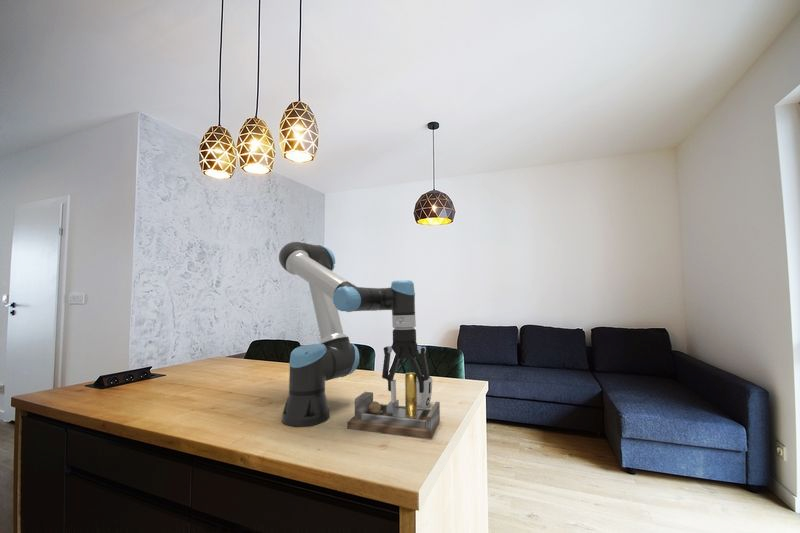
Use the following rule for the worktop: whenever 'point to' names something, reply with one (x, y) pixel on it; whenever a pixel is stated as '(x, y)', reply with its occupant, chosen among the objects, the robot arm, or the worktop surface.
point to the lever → (407, 401)
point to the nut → (374, 408)
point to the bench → (393, 420)
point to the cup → (426, 394)
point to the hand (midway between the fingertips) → (406, 402)
